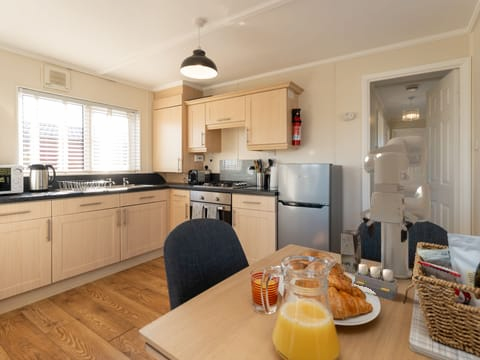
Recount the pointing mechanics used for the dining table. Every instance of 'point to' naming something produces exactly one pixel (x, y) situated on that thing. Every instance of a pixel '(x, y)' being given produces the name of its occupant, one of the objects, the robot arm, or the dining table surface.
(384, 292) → the button board
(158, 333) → the dining table surface
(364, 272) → the end button
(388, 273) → the end button
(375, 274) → the middle button
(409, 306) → the dining table surface
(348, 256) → the coffee box
